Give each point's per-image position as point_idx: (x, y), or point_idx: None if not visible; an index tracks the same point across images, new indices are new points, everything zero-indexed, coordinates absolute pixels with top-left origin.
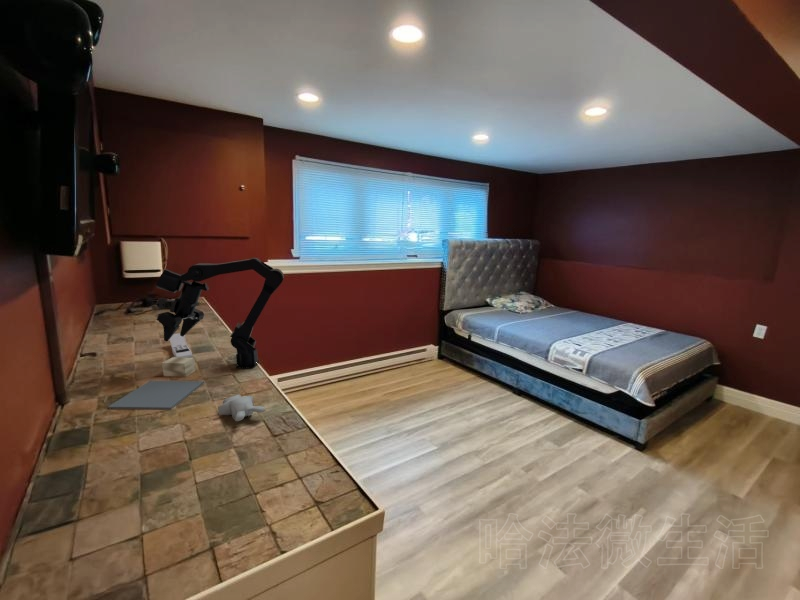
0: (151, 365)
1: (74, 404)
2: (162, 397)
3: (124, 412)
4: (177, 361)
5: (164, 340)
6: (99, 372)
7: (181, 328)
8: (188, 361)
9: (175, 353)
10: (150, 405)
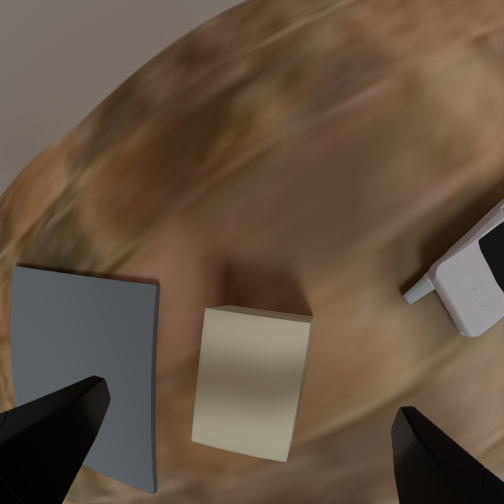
0: (377, 157)
1: (49, 156)
2: (47, 393)
3: (6, 321)
4: (225, 392)
5: (96, 378)
6: (283, 24)
7: (434, 458)
8: (228, 449)
9: (473, 238)
10: (17, 377)
